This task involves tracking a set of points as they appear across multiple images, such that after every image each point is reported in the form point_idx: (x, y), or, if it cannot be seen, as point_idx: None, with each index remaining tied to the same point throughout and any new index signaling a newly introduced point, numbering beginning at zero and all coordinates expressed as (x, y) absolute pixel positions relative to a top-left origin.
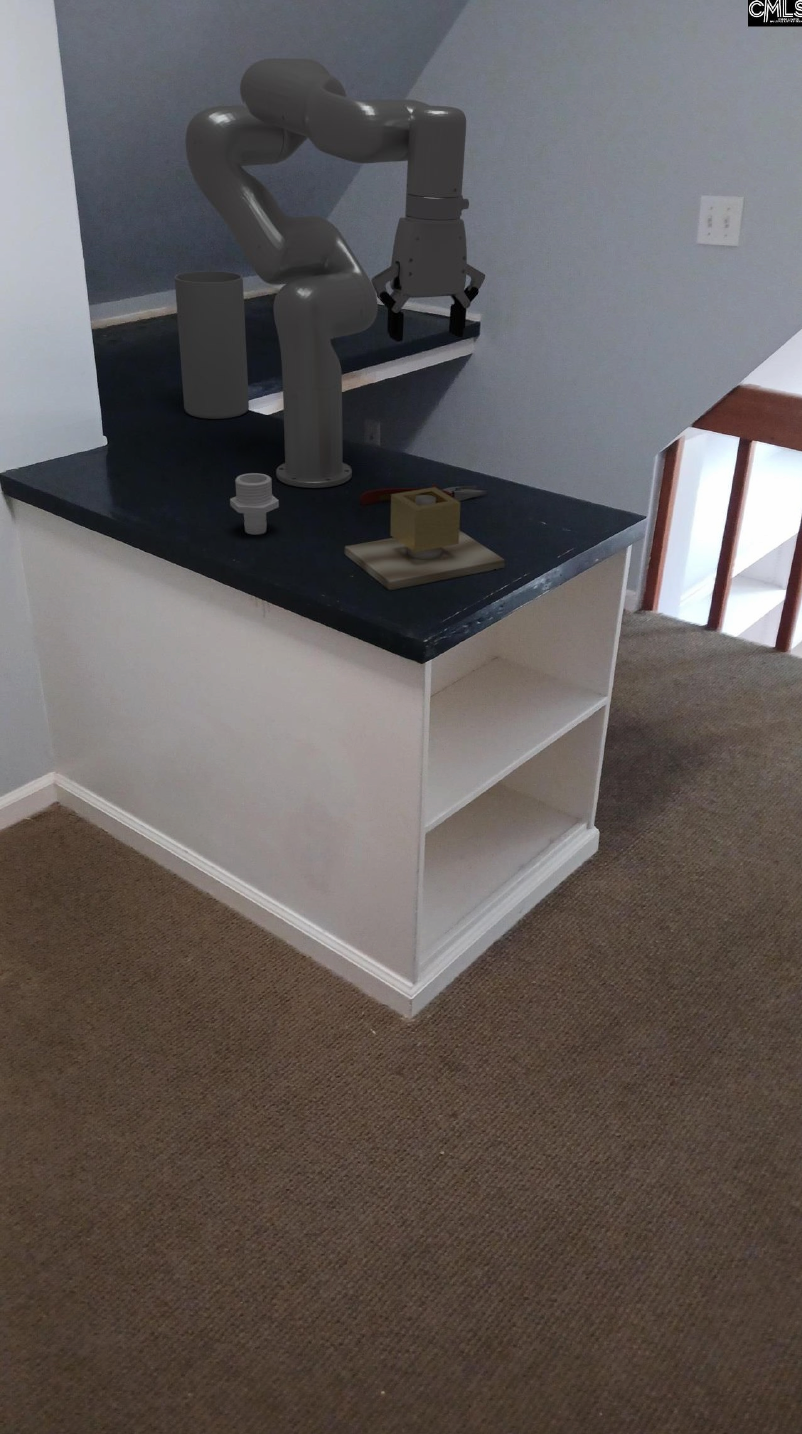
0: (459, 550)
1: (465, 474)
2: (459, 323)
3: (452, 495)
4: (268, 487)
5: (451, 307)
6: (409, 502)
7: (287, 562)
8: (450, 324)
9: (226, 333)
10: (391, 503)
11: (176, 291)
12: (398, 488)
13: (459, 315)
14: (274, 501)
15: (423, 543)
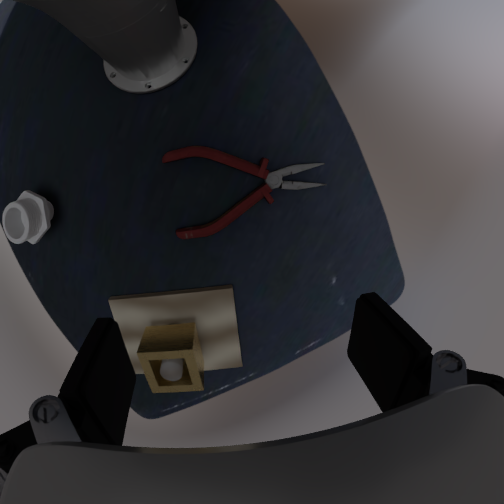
0: (211, 341)
1: (335, 105)
2: (366, 381)
3: (272, 202)
4: (29, 235)
5: (405, 358)
6: (151, 376)
7: (64, 294)
8: (369, 318)
9: None
10: (139, 347)
11: None
12: (215, 156)
13: (376, 401)
14: (43, 229)
15: None
